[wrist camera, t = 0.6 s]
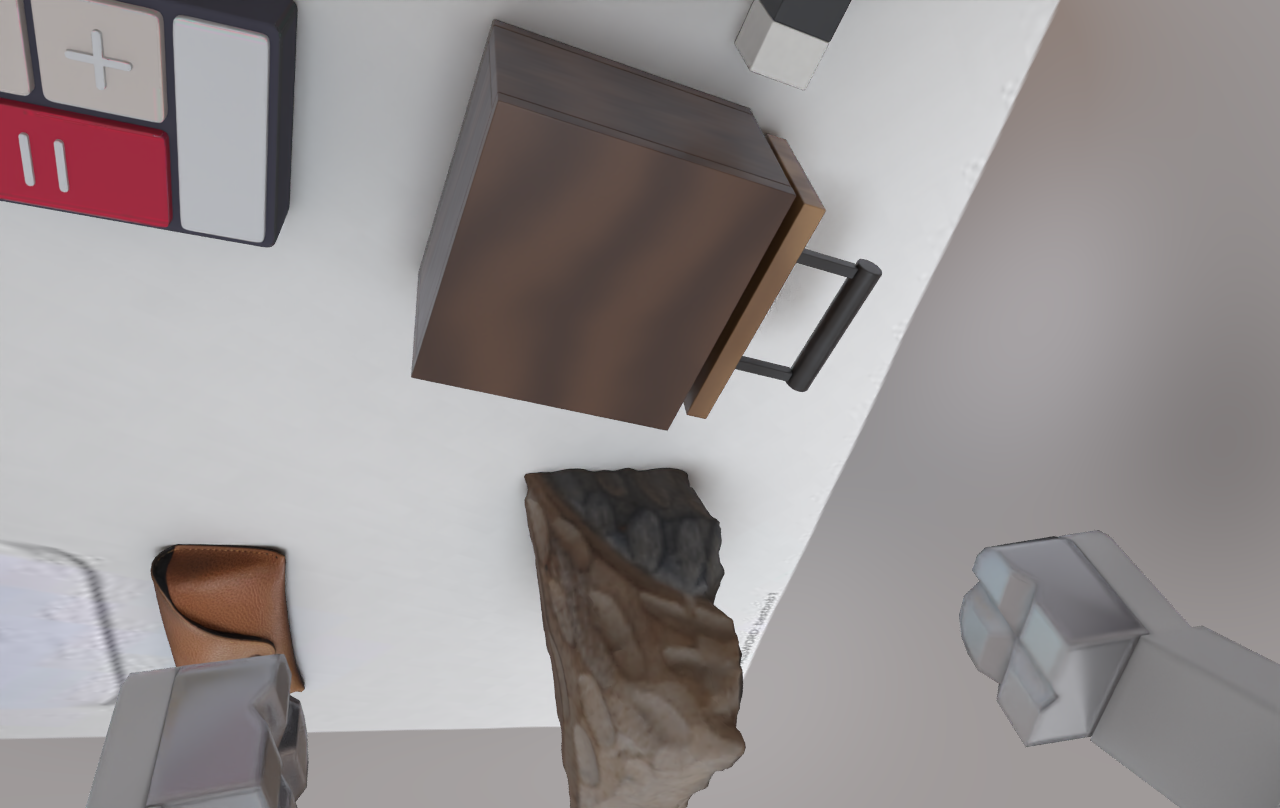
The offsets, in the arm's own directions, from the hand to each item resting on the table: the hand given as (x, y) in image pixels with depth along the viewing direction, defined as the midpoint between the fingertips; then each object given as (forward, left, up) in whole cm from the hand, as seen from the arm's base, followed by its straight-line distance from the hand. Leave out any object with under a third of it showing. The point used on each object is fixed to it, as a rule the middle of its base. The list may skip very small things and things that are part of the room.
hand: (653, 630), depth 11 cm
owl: (+37, +18, -39) cm, 56 cm away
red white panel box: (+15, -14, -39) cm, 44 cm away
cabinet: (+14, +8, -39) cm, 42 cm away
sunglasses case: (+55, -4, -39) cm, 67 cm away
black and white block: (0, +14, -39) cm, 41 cm away
